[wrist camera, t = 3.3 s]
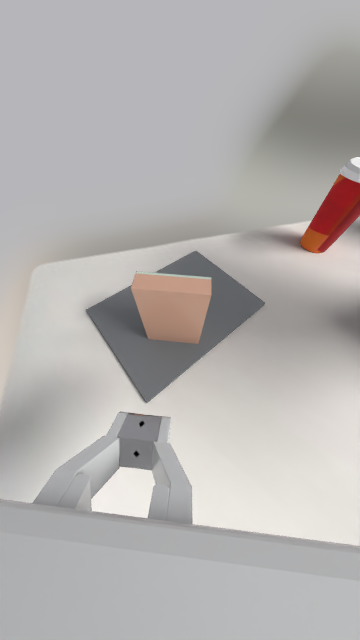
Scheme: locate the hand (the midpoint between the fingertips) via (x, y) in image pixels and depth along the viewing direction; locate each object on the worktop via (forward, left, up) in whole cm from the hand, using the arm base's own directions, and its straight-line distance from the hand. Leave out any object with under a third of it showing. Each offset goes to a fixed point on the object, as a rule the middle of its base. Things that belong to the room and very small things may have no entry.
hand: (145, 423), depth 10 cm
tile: (-9, -9, -13) cm, 18 cm away
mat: (-13, -13, -14) cm, 23 cm away
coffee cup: (-50, -7, -14) cm, 52 cm away
